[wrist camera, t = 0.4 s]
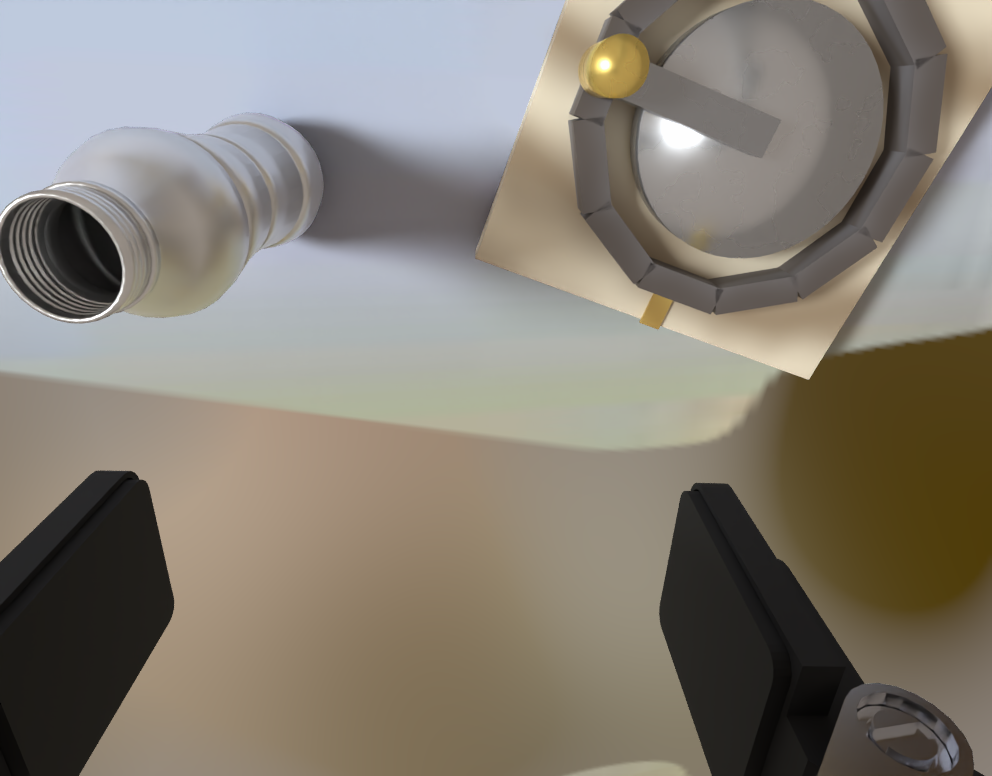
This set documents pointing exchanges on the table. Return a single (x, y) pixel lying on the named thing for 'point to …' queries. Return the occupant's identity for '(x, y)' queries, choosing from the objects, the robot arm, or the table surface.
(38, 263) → the plastic bottle
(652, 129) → the dial
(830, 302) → the dial plate
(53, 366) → the table surface
